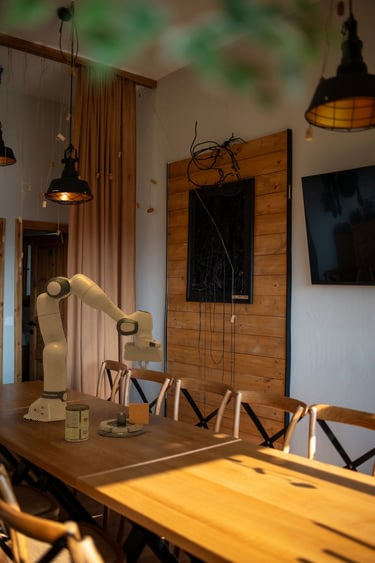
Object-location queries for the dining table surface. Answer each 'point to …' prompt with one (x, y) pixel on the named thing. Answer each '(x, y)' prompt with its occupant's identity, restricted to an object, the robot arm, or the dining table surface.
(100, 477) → the dining table surface
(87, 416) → the coffee can
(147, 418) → the curved stand with block
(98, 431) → the grey disc with peg
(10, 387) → the dining table surface
